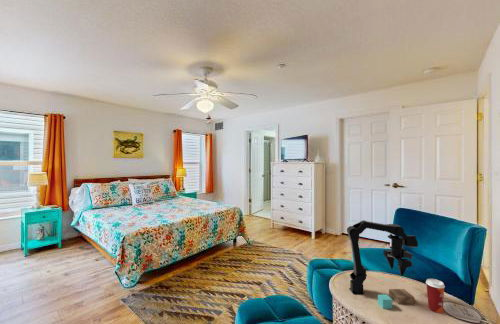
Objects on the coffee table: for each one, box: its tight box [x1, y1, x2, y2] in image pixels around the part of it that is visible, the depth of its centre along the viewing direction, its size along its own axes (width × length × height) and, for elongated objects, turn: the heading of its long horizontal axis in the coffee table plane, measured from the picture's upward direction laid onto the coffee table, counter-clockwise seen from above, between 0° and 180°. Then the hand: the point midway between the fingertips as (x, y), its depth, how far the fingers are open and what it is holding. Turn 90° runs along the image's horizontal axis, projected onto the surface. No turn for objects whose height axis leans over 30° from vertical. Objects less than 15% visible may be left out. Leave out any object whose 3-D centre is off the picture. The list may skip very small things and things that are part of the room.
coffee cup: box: [425, 278, 446, 314], centre depth 127 cm, size 8×8×15 cm
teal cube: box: [377, 294, 393, 310], centre depth 130 cm, size 5×5×5 cm
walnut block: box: [388, 288, 415, 305], centre depth 136 cm, size 9×9×4 cm
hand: (396, 272), depth 142 cm, fingers open, 9 cm apart
